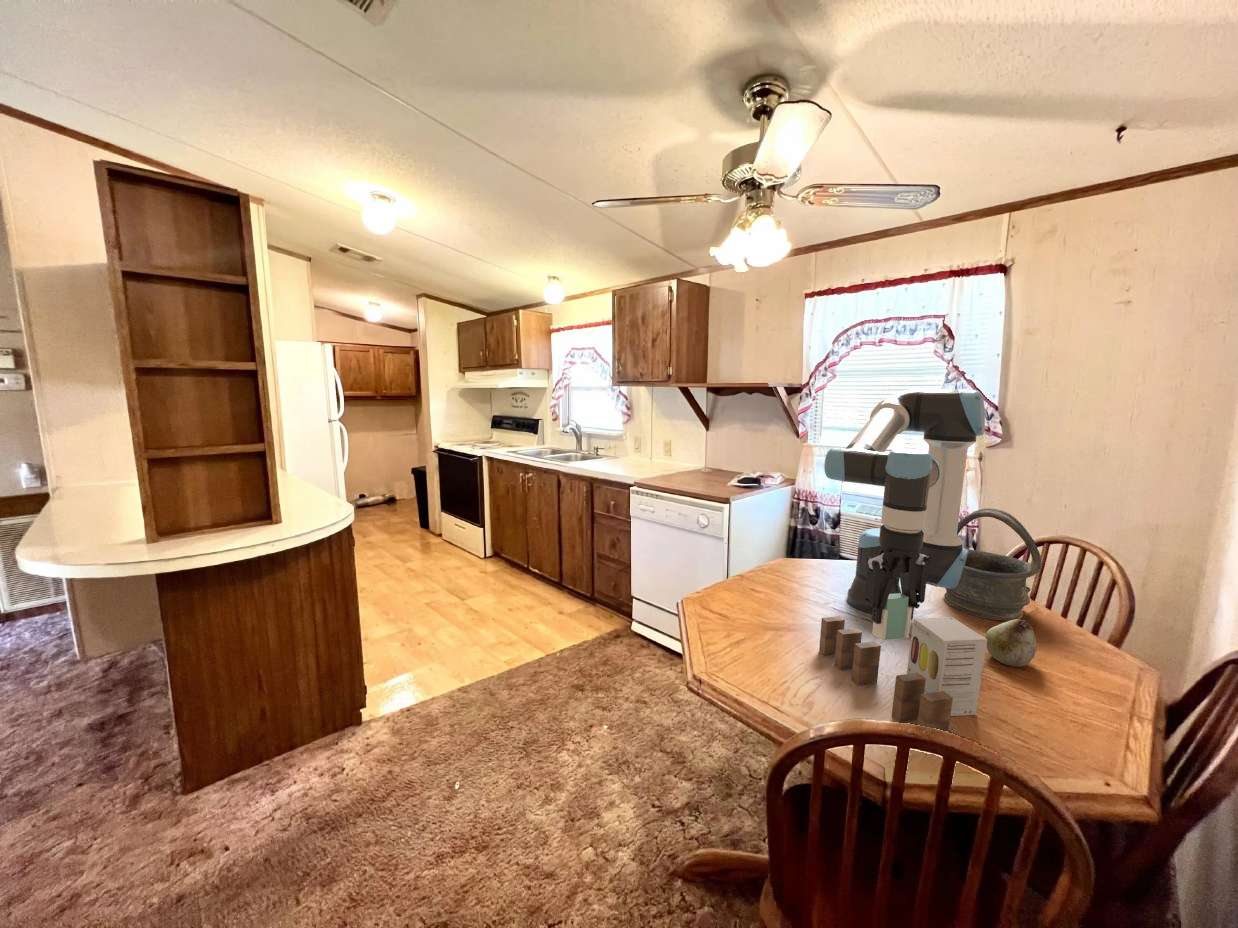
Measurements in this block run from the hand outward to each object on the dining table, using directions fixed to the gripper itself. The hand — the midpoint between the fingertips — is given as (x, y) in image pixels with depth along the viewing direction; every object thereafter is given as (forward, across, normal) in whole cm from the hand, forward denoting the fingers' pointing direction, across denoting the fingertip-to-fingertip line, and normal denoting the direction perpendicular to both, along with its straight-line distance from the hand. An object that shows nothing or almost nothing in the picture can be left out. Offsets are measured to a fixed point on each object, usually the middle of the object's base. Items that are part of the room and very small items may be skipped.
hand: (890, 635), depth 99 cm
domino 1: (+15, 0, -18) cm, 23 cm away
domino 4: (+15, 0, +6) cm, 16 cm away
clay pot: (+15, -61, -31) cm, 70 cm away
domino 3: (+15, 0, -6) cm, 16 cm away
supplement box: (+15, -11, +3) cm, 19 cm away
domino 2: (+15, 0, -12) cm, 19 cm away
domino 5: (+15, 0, +12) cm, 19 cm away
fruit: (+15, -40, -6) cm, 43 cm away
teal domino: (0, 0, 0) cm, 0 cm away
